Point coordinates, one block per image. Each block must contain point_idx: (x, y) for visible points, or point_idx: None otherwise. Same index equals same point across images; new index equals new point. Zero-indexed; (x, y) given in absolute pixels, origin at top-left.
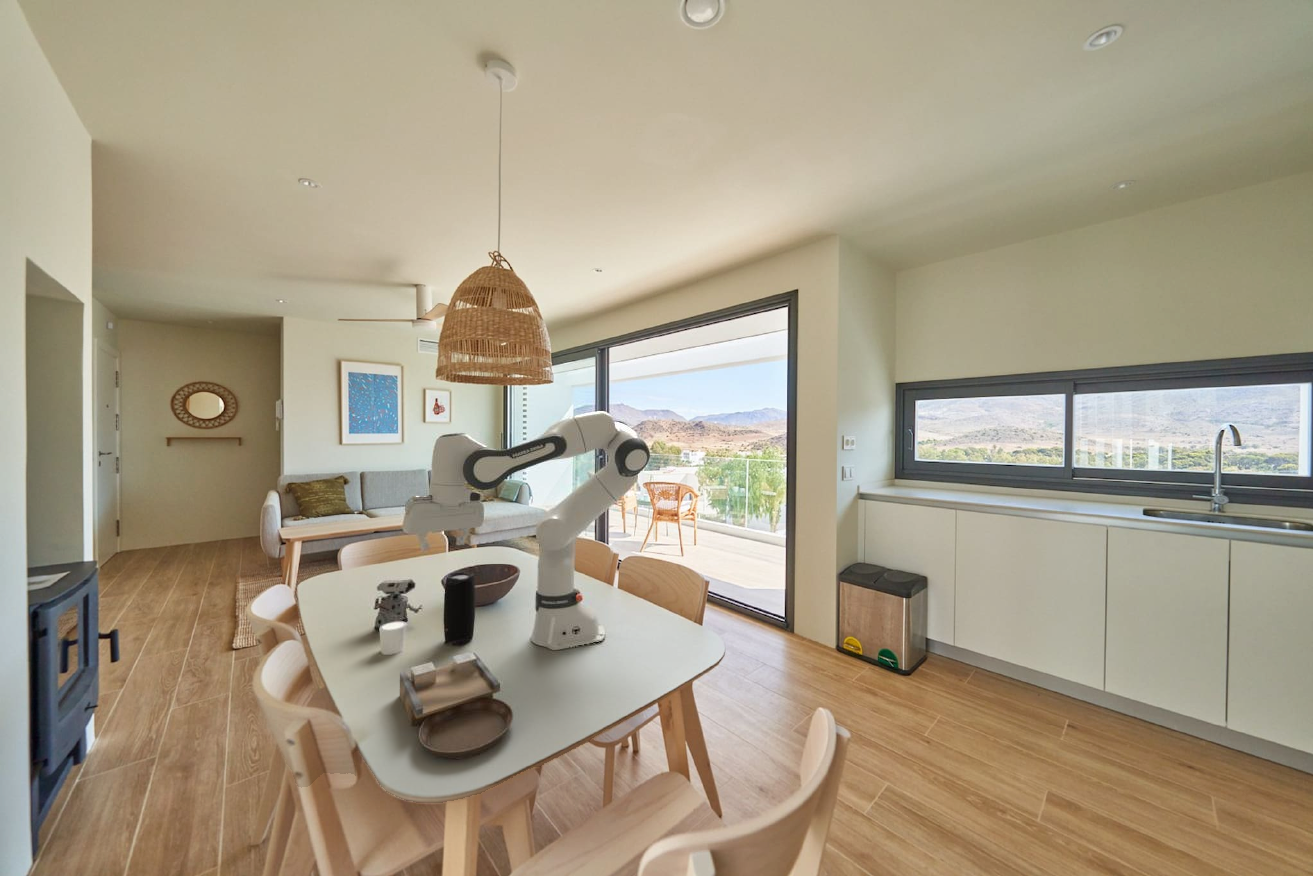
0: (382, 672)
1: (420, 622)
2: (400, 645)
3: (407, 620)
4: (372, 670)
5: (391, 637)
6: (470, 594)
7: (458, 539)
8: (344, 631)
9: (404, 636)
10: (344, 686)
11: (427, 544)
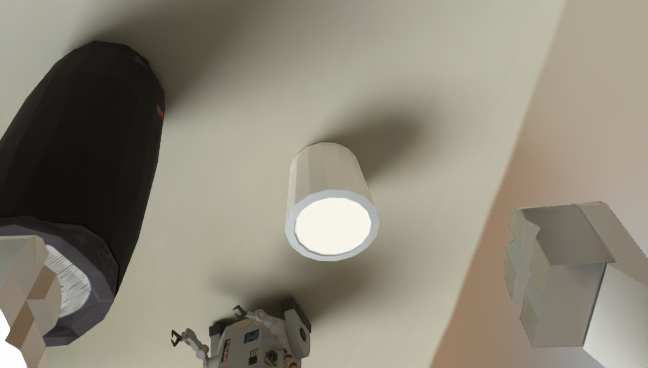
0: (420, 35)
1: (176, 303)
2: (314, 156)
3: (210, 328)
4: (433, 74)
5: (351, 177)
6: (11, 156)
7: (14, 332)
8: (368, 358)
9: (299, 178)
10: (539, 26)
11: (589, 251)
